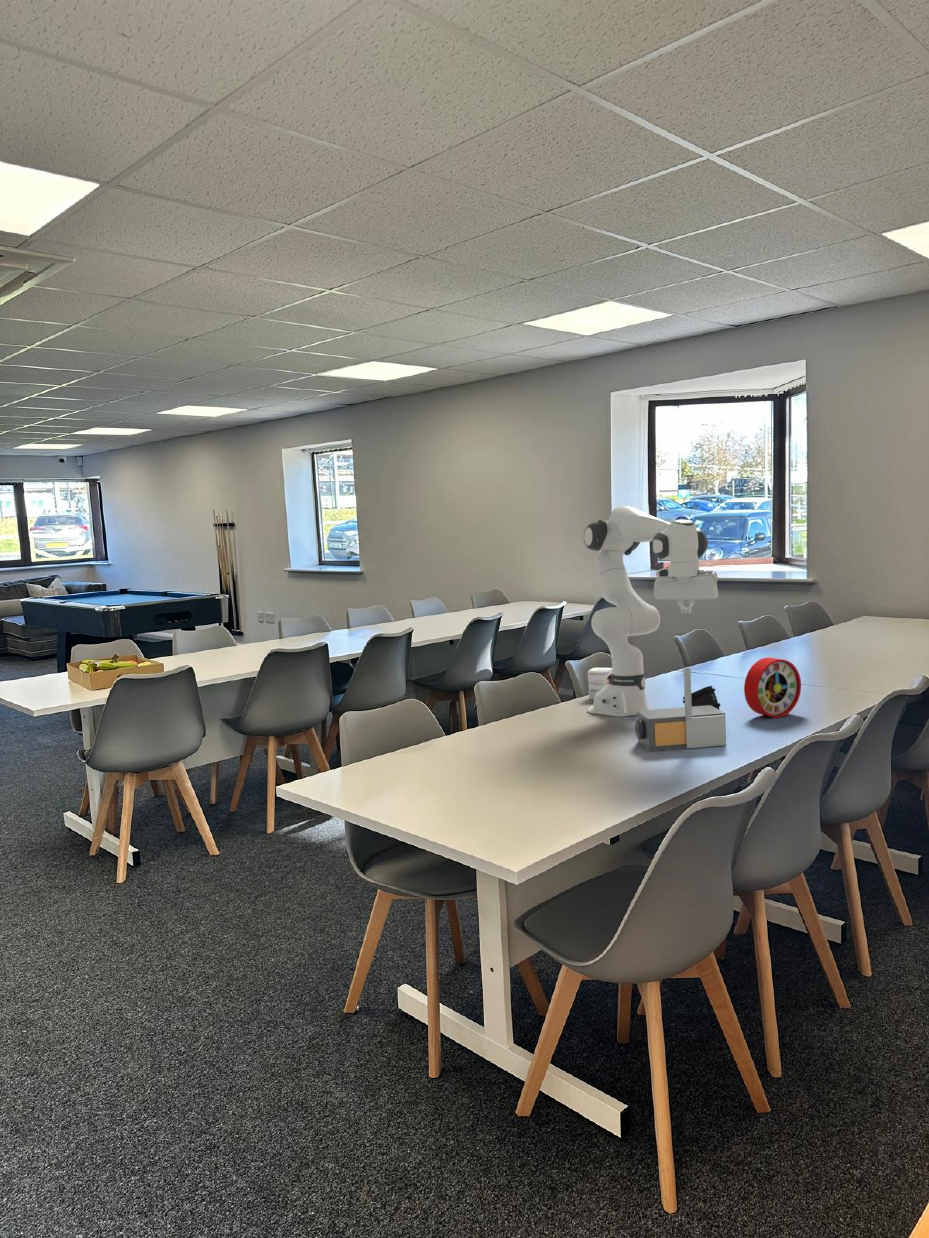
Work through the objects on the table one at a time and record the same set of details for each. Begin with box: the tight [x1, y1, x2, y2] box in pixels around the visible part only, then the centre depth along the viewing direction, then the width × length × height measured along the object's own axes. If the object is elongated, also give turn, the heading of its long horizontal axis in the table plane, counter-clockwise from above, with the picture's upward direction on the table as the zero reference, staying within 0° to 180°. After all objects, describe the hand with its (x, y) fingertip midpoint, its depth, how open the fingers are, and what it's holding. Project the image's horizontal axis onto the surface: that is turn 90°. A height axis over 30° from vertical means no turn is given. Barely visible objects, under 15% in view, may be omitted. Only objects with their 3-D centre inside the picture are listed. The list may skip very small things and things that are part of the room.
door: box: [683, 667, 727, 749], centre depth 256 cm, size 12×2×25 cm, turn 95°
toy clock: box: [743, 657, 802, 718], centre depth 292 cm, size 20×6×20 cm, turn 114°
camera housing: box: [634, 705, 727, 752], centre depth 264 cm, size 26×12×10 cm, turn 95°
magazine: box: [682, 685, 722, 711], centre depth 278 cm, size 4×13×15 cm, turn 37°
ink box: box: [587, 667, 613, 701], centre depth 339 cm, size 8×8×12 cm
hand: (686, 613), depth 274 cm, fingers closed
